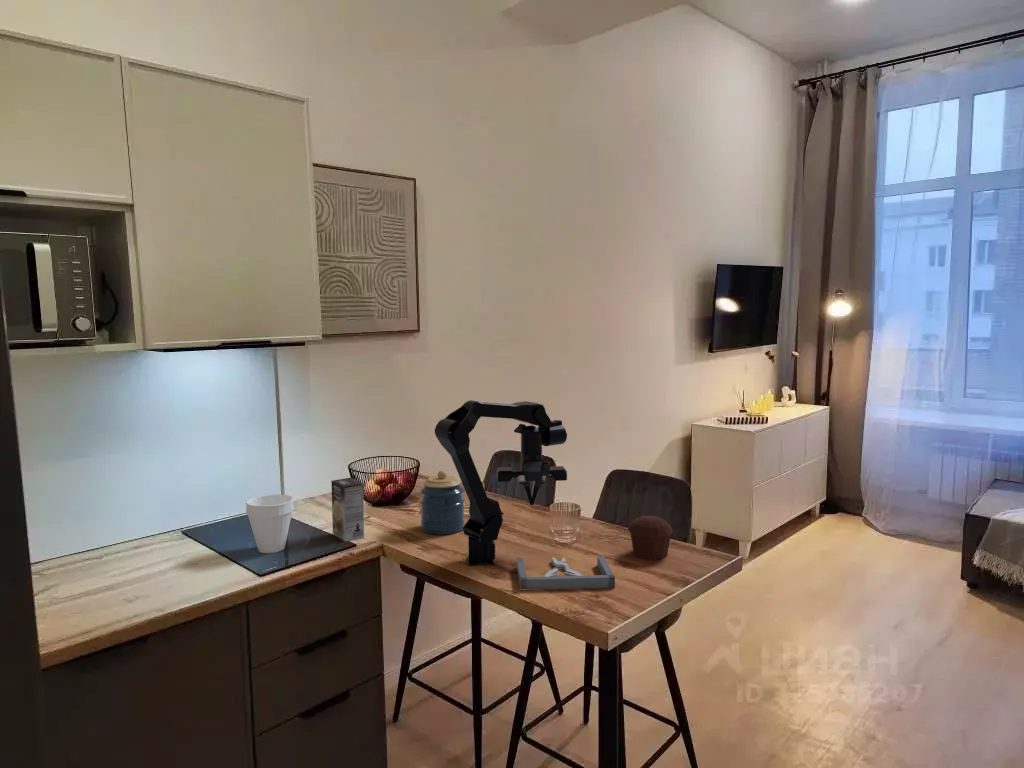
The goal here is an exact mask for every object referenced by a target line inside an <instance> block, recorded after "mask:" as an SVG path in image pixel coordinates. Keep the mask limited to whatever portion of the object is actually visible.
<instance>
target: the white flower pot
mask: <svg viewBox="0 0 1024 768" xmlns="http://www.w3.org/2000/svg"><path fill="white" fill-rule="evenodd" d="M245 505H246V506H245V507H246V509H245V510H246V511H245V514H246V515H247V517H248V520H249V522H250V523H249V524H250V527H251V529H252V533H253V537H254V540H255V544H256V546H257V550H258V552H259V553H262V554H274V553H279V552H281V551H283V550H285V549H286V543H287V539H288V533H289V528H290V524H291V519H292V514H293V511H294V510H295V507H294V497H292V495H291V496H290V495H288V494H266V495H259V496H256V497H251V498H249V499H248V500H247V501H246V502H245Z"/></svg>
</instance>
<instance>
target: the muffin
mask: <svg viewBox="0 0 1024 768" xmlns="http://www.w3.org/2000/svg"><path fill="white" fill-rule="evenodd" d="M627 531H628V533H630V538H631V545H632V553H633V552H634V553H633V555H634V556H635V557H637V558H640V559H641V560H649V559H650V561H655V559H656V560H663V559H665V558H666V557H668V554H669V553H668V552H669V548H670V547H669V546H670V543H671V542H670V541H671V536H672V534H673V528H672V526H671V524H670V523H668V522H667V521H666V520H664V518H661V517H659V516H656V515H643V516H642V515H641V516H639V517H637V518H635V519H634V520H632V521H631V523H630V525H629V526H628V528H627Z"/></svg>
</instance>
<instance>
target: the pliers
mask: <svg viewBox="0 0 1024 768" xmlns="http://www.w3.org/2000/svg"><path fill="white" fill-rule="evenodd" d="M551 564H552V566H553V567H554V568H553V569H551V570H549V571H547V572H546V573H545V574H544V576H543V577H551V576H559V575H560V574H561V572H560V571H559V570H564V574H565V576H584V575H583V574H582V573H581V572H579V571H576V570H574V569H571V568H570V566H569V564H568V563H567V560H566V557H563V556H562V559H561V560H560V561H559V560H557V558H555V557H553V556H552V557H551Z"/></svg>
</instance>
